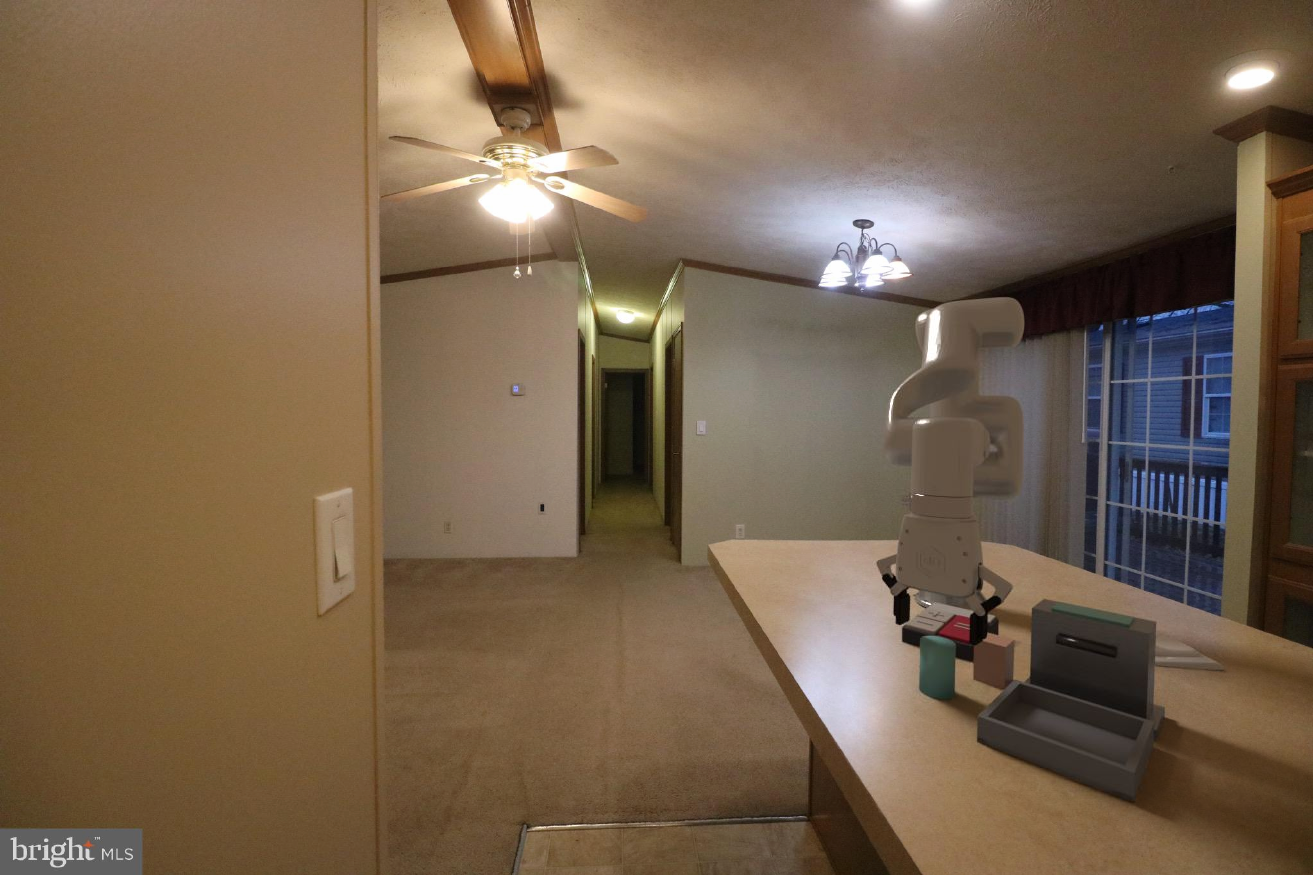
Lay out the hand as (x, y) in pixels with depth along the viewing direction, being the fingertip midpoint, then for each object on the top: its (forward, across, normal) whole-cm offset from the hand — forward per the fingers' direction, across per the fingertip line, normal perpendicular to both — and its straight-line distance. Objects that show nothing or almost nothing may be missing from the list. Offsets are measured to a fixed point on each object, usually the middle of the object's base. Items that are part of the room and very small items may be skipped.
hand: (937, 632), depth 76 cm
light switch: (+8, +18, +41) cm, 45 cm away
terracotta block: (+8, +4, +11) cm, 14 cm away
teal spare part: (+8, 0, +1) cm, 9 cm away
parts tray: (+9, +15, -1) cm, 17 cm away
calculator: (+9, -6, +22) cm, 25 cm away
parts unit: (+8, +15, +12) cm, 21 cm away
